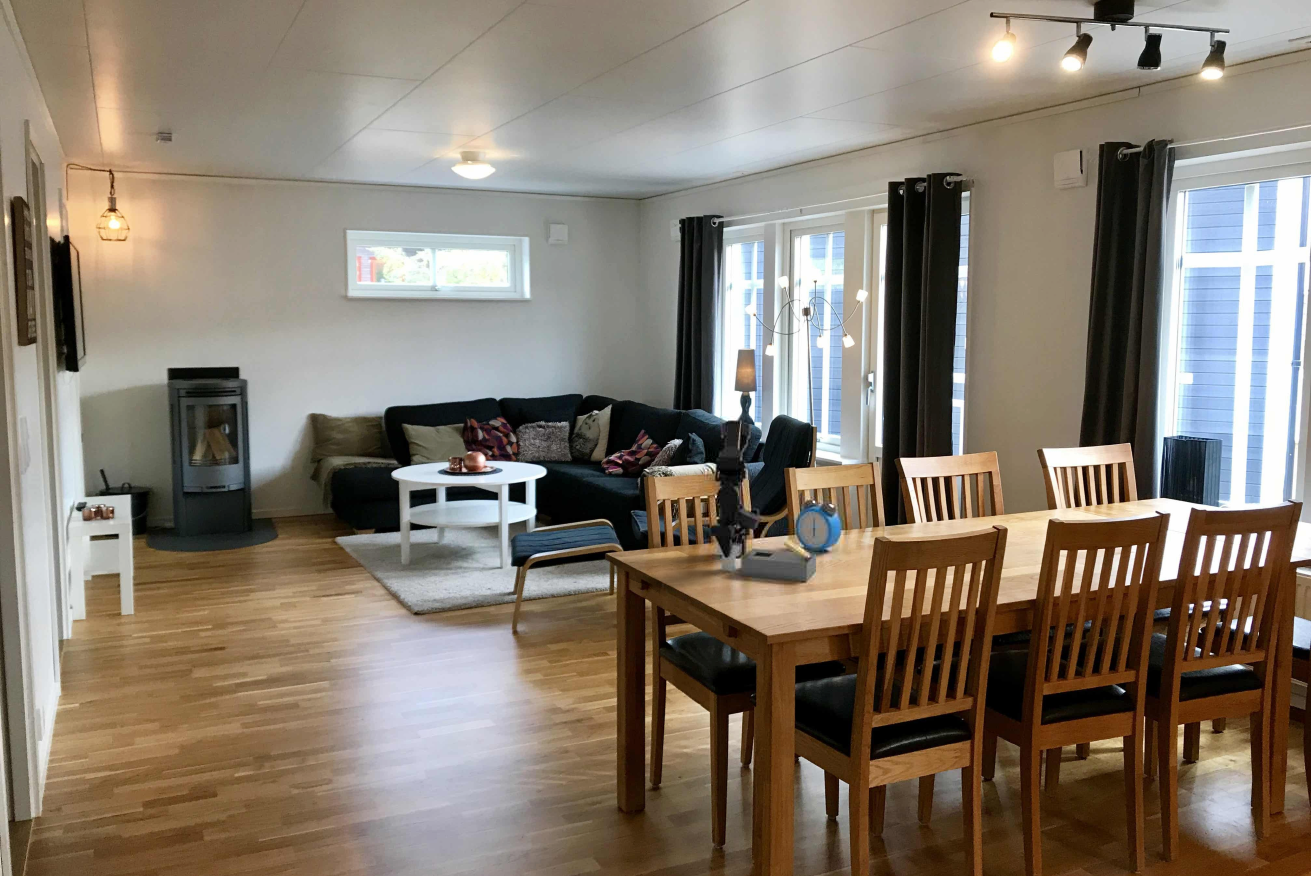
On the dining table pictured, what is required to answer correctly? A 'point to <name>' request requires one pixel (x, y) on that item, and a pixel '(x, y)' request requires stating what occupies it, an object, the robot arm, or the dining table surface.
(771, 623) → the dining table surface
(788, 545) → the brass latch
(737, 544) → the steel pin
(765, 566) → the block
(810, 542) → the alarm clock
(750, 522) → the robot arm
